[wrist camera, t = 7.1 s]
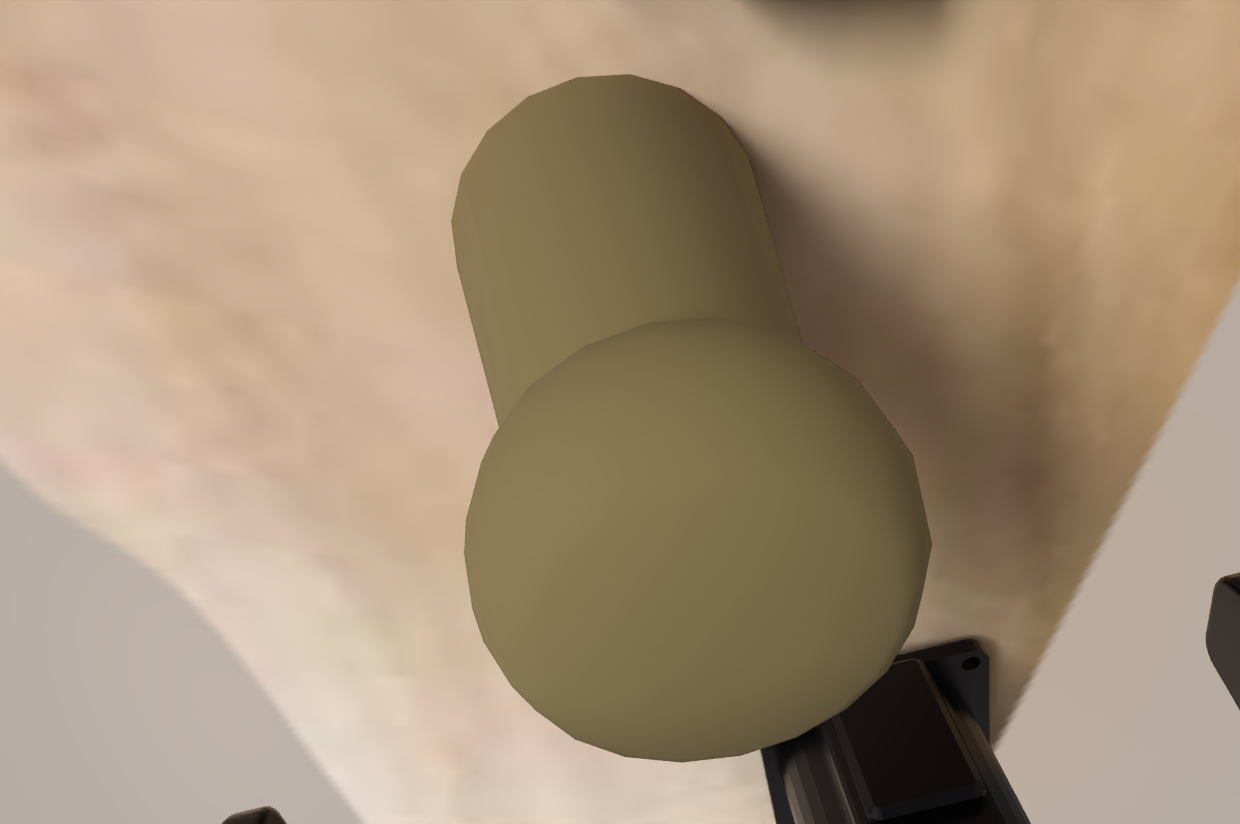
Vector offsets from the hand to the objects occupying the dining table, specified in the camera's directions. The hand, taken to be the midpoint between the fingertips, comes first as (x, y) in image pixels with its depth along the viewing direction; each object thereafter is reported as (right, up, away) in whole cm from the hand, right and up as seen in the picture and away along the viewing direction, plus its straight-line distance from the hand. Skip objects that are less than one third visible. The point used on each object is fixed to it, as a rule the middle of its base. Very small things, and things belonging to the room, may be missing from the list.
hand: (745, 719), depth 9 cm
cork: (-1, +6, +10) cm, 12 cm away
